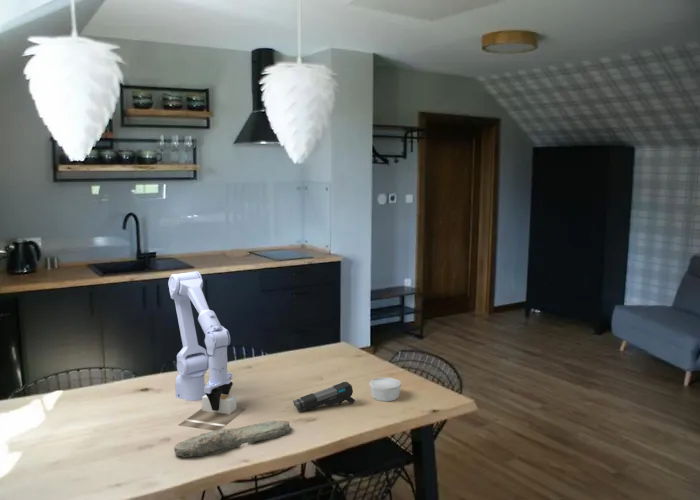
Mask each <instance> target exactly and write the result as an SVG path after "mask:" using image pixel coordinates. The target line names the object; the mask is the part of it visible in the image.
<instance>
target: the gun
mask: <svg viewBox="0 0 700 500" xmlns="http://www.w3.org/2000/svg"><path fill="white" fill-rule="evenodd" d="M353 393H354V390H353V385H352V384H351V383H349V382H348V381H342V382H340V383H338V384H333V385H332V386H331V387H328V388H325V389H321V390H319V391H316V392H313V393H309V394H306V395H303V396H300V398H296V399H294V400H292V402H293V406H294V407H295V409H296V410H297V412H299V413H302V412H303V411H305V410H307V411H311V410H314V409H317V408H319V407H321V406H329V407H331V406H333V405H337V404H339V405H342V403H344V401H347V403H350V404H351V405H352V404H354V403H355V401H356V399H355V398H353V397H352V395H353Z"/></svg>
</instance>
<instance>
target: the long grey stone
mask: <svg viewBox="0 0 700 500" xmlns="http://www.w3.org/2000/svg"><path fill="white" fill-rule="evenodd" d="M290 431H291V425H290V421H287V420H270V421H266V422H259V423H253V424H250V425H245V426H241V427H237V428H228V429H226V428H222V429H220V430H219V429H218V430H215V431H213V430H211V431H209V432H206V433H201V434H200V435H197V436H193V437H191V438H188V439H185V440H183V441H180V442H177V443H175V445H174V447H173V450H174V453H175V456H176V455H177V456H178V457H182V458H191V457H199V456H200V457H202V456H205V455H210V454H218V453H220V452H225V450H229V449H231V450H232V449H233V448H237V447H240V446H242V444H246V443H247V444H254V443H255V442H259V441H264V440H269V439H274V438H277V437H280V436H283V435H284V436H285V434H288V433H289V432H290Z"/></svg>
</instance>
